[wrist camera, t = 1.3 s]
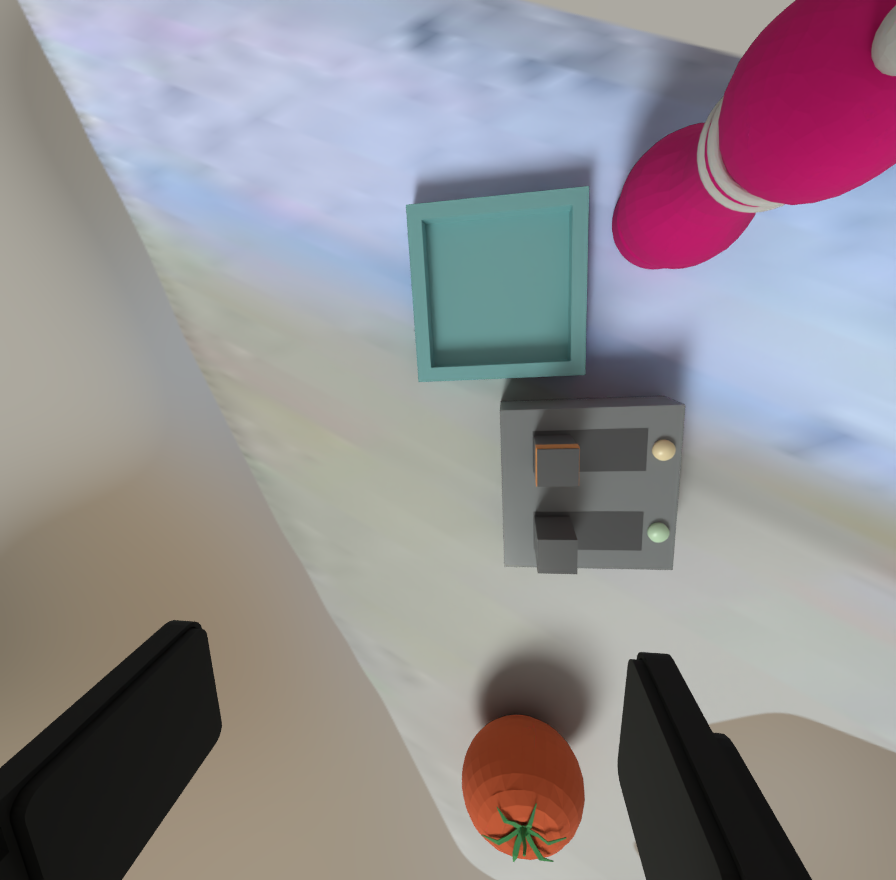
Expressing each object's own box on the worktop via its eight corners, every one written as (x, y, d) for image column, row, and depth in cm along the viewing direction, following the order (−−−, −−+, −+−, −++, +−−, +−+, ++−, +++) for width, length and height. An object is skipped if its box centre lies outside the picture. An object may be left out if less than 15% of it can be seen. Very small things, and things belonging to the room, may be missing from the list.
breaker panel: (663, 395, 32) (687, 405, 28) (654, 543, 35) (674, 572, 30) (500, 401, 33) (499, 411, 29) (504, 541, 36) (504, 568, 32)
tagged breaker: (571, 434, 29) (580, 448, 26) (571, 469, 30) (579, 487, 26) (532, 435, 30) (536, 448, 26) (532, 469, 30) (536, 487, 27)
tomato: (456, 693, 41) (440, 804, 31) (564, 683, 39) (583, 798, 29) (479, 777, 43) (471, 905, 33) (583, 771, 41) (607, 906, 31)
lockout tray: (583, 195, 29) (588, 186, 27) (580, 372, 32) (585, 374, 30) (412, 212, 31) (405, 204, 29) (423, 379, 34) (418, 382, 32)
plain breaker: (569, 516, 31) (577, 540, 27) (569, 547, 31) (577, 574, 28) (534, 516, 31) (537, 539, 27) (534, 546, 32) (537, 573, 28)
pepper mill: (691, 288, 30) (1026, 209, 11) (589, 263, 30) (732, 144, 11) (735, 174, 28) (1243, -177, 9) (625, 149, 28) (875, -236, 9)
